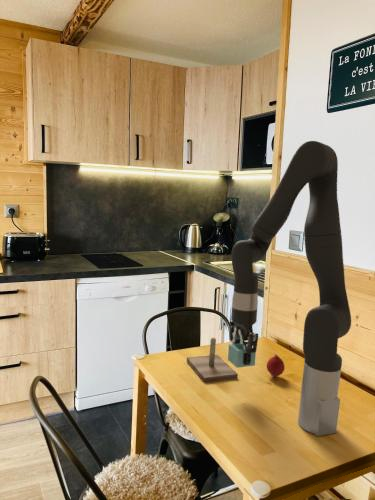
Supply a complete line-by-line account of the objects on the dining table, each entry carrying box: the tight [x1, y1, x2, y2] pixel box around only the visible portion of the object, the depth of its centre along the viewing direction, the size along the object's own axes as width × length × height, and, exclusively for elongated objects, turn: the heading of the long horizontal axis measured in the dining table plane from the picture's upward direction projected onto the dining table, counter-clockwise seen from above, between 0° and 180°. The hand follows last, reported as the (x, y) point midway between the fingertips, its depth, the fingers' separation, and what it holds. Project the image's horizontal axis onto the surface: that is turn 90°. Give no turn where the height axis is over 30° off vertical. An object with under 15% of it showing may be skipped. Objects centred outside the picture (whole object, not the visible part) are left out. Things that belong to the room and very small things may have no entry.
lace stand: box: [186, 337, 239, 383], centre depth 138 cm, size 16×12×11 cm
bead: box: [227, 343, 257, 368], centre depth 123 cm, size 6×6×5 cm
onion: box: [266, 353, 285, 378], centre depth 136 cm, size 6×6×8 cm
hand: (241, 359), depth 123 cm, fingers closed on bead, 6 cm apart
